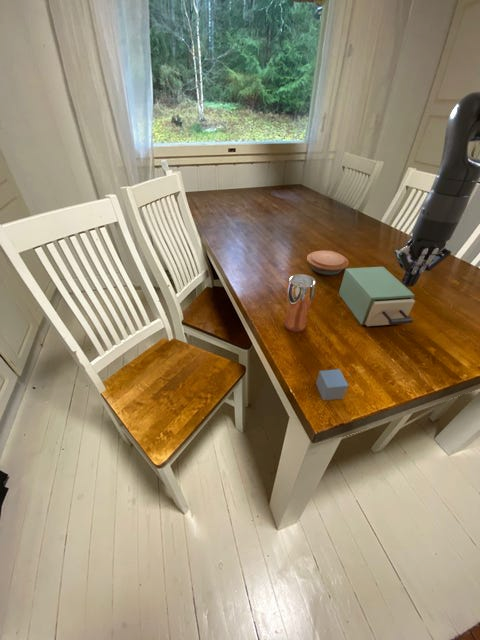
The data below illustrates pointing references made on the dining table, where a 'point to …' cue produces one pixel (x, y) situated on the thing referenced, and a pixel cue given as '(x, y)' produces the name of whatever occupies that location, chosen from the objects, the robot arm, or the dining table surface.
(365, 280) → the cabinet
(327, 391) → the block
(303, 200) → the dining table surface
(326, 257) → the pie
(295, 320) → the metal cup
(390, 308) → the drawer
